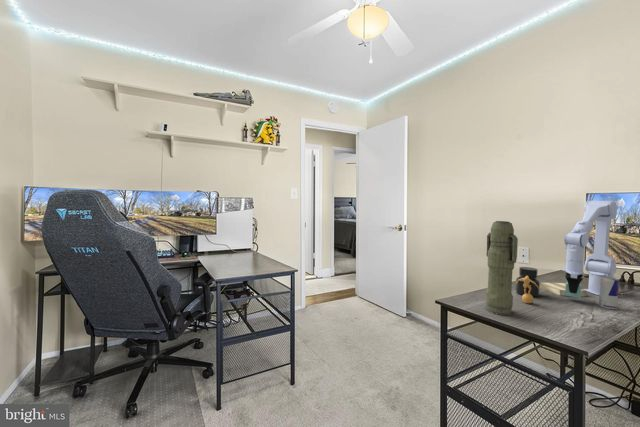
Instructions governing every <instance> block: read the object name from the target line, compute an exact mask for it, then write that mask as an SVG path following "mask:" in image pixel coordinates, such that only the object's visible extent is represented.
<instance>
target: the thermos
mask: <svg viewBox="0 0 640 427" xmlns="http://www.w3.org/2000/svg"><path fill="white" fill-rule="evenodd" d="M486 257H487V267H488V274H487V277H488V278H487V289H486V291H485V310H486V309H487V310H488V311H487V310H486V311H487V312H489V311H490V312H489V313H491V312H493V313H492V314H494V313H497V314H496V315H499V314H502V315H501V316H510V315H509V314H511V313H513V312H512V308H513V304H514V297H513V293H512V292H513V291H512V287H513V286H512V285H513V270H514V268H515V264H516V263H517V258H518V237H517V235H515V230H514V226H513V223H512V222H510V221H505V220H495V221H493V222H492V225H491V227H490V232H488V234H487V235H486ZM511 315H512V314H511Z"/></svg>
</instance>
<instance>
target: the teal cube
mask: <svg viewBox="0 0 640 427" xmlns="http://www.w3.org/2000/svg"><path fill="white" fill-rule="evenodd" d="M565 283H566V290H565V295H567V297H573V298H574V297H575V298H578V299H579V298H580V299H581V297H582V296H581V289H582V283H580V284H579V287H578V290H577V293H570V291H569V285H568V281H565Z"/></svg>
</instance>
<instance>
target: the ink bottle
mask: <svg viewBox="0 0 640 427" xmlns="http://www.w3.org/2000/svg"><path fill="white" fill-rule="evenodd" d="M518 273H519V276H518V277H516V279H515V293H517V294H519V295H522V296H523V295H524V294H525V292H524V289H525V288H524V286H523V284H525V283H524V281H523V280H519V281H518V284H516V282H517V280H518V279H522V278H525V277H526V276H528V277H529V279H530V280H531V281H533V282H535V283H536V285H537V286H538V287H539V289H538V287H537V286H536V285H535V284H534V283H532V282H529V285H531V291H530V294H531V295H532V296H533V298H534V297H535V298H536V297H539V296H540V288H541V282H540V281H539V280H538V269H537V268H535V267H529V266H528V267H527V266H519V272H518ZM529 290H530V289H529V288H528V287H527V288H526V293H527V294H529V293H528V292H529Z"/></svg>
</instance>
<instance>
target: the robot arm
mask: <svg viewBox="0 0 640 427" xmlns="http://www.w3.org/2000/svg"><path fill="white" fill-rule="evenodd" d="M617 206H618V205H617V203H616V202H615V200H586V202H584V205H583V210H584V215H583V216H582V217H583V218H582V220H579V221H577V222H576V223H575V225H574V227H573V229H572V230H571V231H570V232H567V233H566V234H565V236H564V238H563V239H564V247H565V249H566V253H565V254H566V259H565V268H562V269H561V271H562V272H565V276H564V277H565V279H566V282H568V285H569V291H570V293H577V290H578V287H579V284H581V282H582V281H583V279H584V278H582V277H583V275H584V274H585V271H586V272H587V274H588V275H589V276H588V287H587V288H582V289H583V290H586V291H587V293H591V294H593V295H597V296H600V281H601V278H602V277H611V278H616V277H615V276H614V275H615V274H616V272H617V264H616V258H613V257H612V256H611V255H609V244H610V242H609V241H610V231H611V222H612V220H615V219H616V217H617V210H618V207H617ZM594 222H595V223H596V224H595V232H594V242H593V243H594V244H593V245H594V246H593V253H591V254H588V255H587V256H586V258H585V249H586V248H585V247H587V245H588V244H589V239H590V235H591V232H592V230H594V225H593V224H594ZM584 259H585V260H584ZM584 261H585V262H584ZM584 269H585V271H584Z"/></svg>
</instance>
